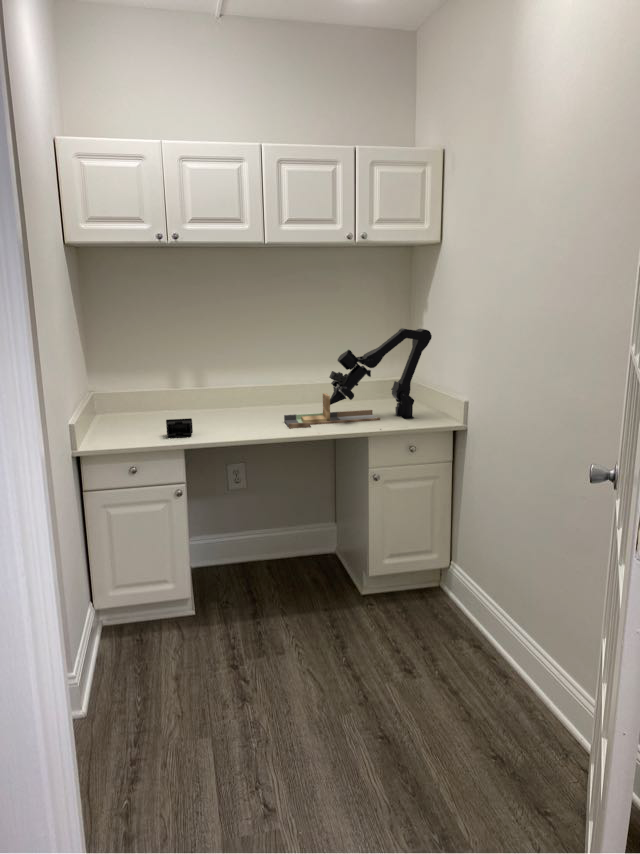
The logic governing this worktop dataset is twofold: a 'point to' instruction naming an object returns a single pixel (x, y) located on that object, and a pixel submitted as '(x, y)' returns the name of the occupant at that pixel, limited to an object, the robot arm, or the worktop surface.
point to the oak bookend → (325, 412)
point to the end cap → (179, 428)
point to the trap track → (331, 416)
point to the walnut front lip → (328, 422)
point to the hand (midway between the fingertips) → (328, 404)
